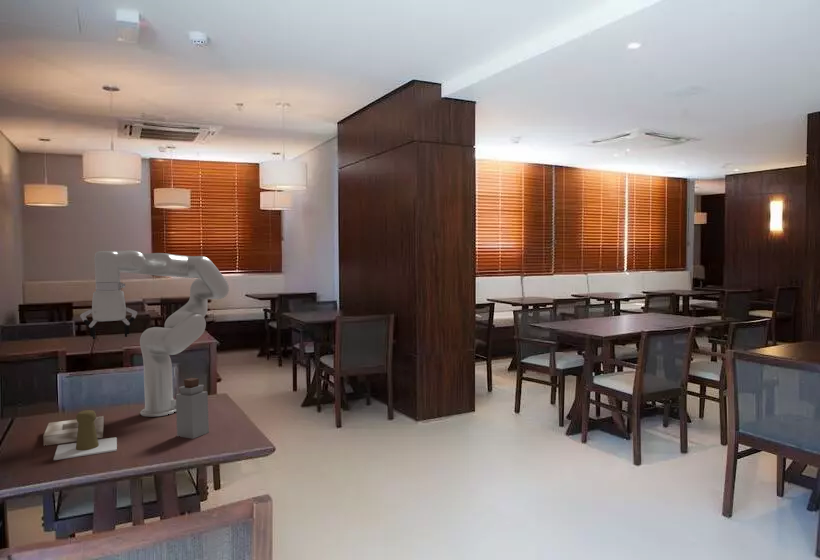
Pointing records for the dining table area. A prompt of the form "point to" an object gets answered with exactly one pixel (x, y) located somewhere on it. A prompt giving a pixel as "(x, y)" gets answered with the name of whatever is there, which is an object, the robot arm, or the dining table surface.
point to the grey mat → (71, 451)
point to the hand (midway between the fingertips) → (110, 337)
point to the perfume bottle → (192, 409)
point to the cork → (86, 430)
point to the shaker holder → (68, 431)
